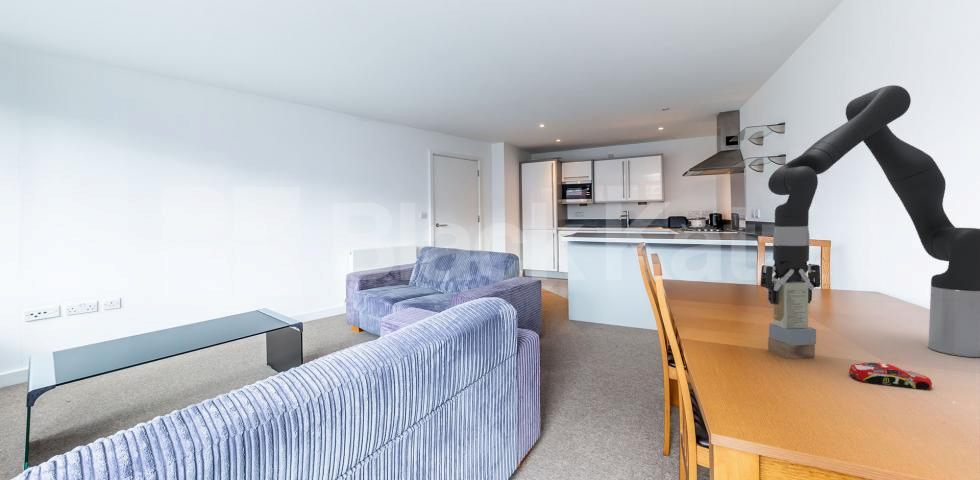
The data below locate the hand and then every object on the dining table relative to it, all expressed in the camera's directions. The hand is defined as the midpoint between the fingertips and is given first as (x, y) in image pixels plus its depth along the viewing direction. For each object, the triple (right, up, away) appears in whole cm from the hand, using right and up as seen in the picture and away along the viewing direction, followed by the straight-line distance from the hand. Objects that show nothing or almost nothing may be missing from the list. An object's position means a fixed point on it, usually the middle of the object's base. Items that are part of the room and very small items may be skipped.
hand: (789, 303), depth 101 cm
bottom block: (+1, -14, +1) cm, 14 cm away
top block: (+1, -10, +1) cm, 10 cm away
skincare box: (0, -7, 0) cm, 7 cm away
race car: (+9, -15, -17) cm, 24 cm away
